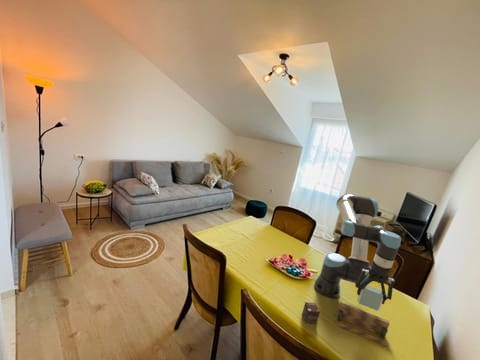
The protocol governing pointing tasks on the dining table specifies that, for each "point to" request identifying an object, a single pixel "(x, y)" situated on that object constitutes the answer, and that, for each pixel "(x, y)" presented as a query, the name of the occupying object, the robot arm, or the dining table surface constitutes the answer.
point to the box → (310, 312)
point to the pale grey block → (371, 297)
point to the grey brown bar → (363, 322)
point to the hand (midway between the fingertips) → (367, 304)
